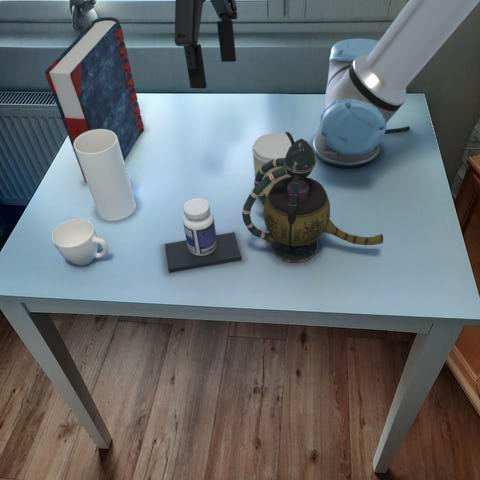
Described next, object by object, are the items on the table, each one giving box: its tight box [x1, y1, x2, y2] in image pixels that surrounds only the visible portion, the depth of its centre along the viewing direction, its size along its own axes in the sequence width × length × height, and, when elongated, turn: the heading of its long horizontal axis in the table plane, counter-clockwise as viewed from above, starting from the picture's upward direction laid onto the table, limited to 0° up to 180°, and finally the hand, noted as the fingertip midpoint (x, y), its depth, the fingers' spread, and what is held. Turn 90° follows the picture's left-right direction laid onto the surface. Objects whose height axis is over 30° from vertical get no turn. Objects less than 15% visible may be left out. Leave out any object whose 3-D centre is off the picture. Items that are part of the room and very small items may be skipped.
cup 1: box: [74, 129, 137, 222], centre depth 95 cm, size 8×8×16 cm
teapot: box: [241, 131, 384, 264], centre depth 82 cm, size 12×25×23 cm, turn 75°
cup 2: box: [51, 218, 109, 266], centre depth 89 cm, size 8×10×7 cm
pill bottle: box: [182, 197, 217, 256], centre depth 87 cm, size 6×6×10 cm
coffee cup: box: [251, 132, 297, 204], centre depth 97 cm, size 9×9×12 cm
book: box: [44, 16, 145, 184], centre depth 104 cm, size 25×7×25 cm, turn 167°
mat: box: [164, 231, 242, 274], centre depth 91 cm, size 14×7×1 cm, turn 101°
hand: (214, 73), depth 84 cm, fingers open, 13 cm apart
